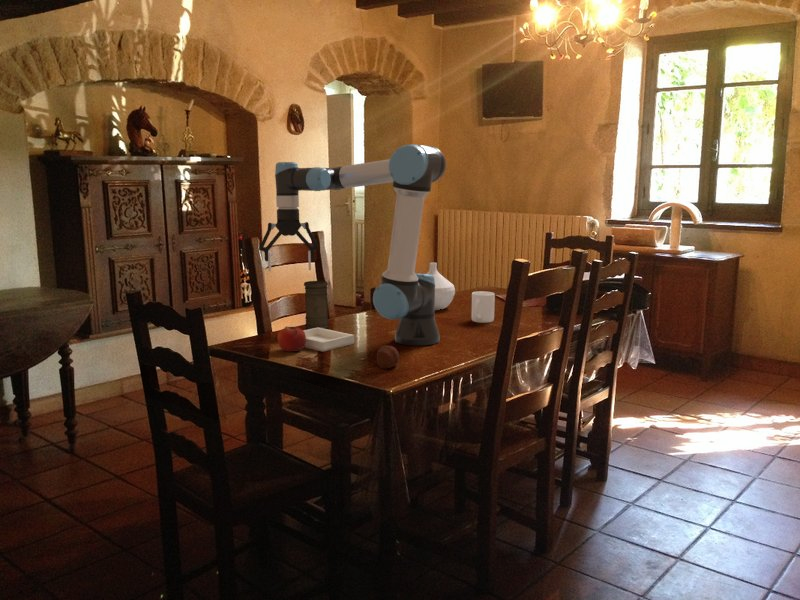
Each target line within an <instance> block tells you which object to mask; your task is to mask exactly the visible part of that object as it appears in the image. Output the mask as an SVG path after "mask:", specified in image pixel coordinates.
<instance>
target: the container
mask: <svg viewBox="0 0 800 600" xmlns="http://www.w3.org/2000/svg"><path fill="white" fill-rule="evenodd" d="M328 285H329V283H328V281H325V280H324V281H323V280H310V281H305V282H304V283H303V286H304V290H305V293H304V297H305V298H304V299H305V318H304V319H305V324H304V327H305V328H304V330H308V329H313V328H317V327H319V328H323V329H328V330H331V328H329V326H330V324H329V316H328V292H327V291H328V287H327V286H328Z"/></svg>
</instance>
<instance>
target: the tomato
mask: <svg viewBox="0 0 800 600" xmlns="http://www.w3.org/2000/svg"><path fill="white" fill-rule="evenodd" d="M277 341H278V345H279V347H280V349H281V350H282V351H285V352H286V351H287V352H298V351H300V350H302V349H303V348H305V347H304V346H305V343H306V335H305V332H304V330H303V329H301V328H300V327H299V326H298V327H297V326H284V328H282V329H280V330H279V331H278V333H277Z"/></svg>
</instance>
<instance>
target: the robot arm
mask: <svg viewBox="0 0 800 600" xmlns="http://www.w3.org/2000/svg"><path fill="white" fill-rule="evenodd" d="M298 164H299V163H297V162H296V161H278V162H277V163H275V171H274V172H275V174H274V178H275V189H276V191H275V192H276V194H275V195H276V196H275V199H276V208H277V210H276V223H274V222H273V223H272V222H268V223H267V229H266V232H265V234H264V236H263V237H262V241H261V243H260V245H259V247H258V249H259V250H258V251H262V252H264V261H265V262H268V264H267V265H268V266H267V267H268V272H271V271H272V258H271V256H272V253H271V251H270V249H271V248H272V246H274V245H275V243H276V242H277V241H278V239H279V238H280V237H281V236H284V237H287V236H293V237H294V236H295V235H296V236H297V237H298V238H299V240H300V241H302V243H303V244H304V245H305V246H306V247H307V248H308V249H309V250H308V251H307V255H308V256H307V260H308V271H311V270H312V261H314V260H315V251H316V250H318V249H319V248H320V246H319V244H318V242H317V240H316V239H315V237H314V235H313V233H312V231H311V229H310V225H309V222H308V221H305V222H302V223H301V221H300V209H299V206H300V203H299V201H300V196H299V193H300V191H302V192H303V191H307V192H312V191H314V192H321V191H340V190H344V189H350V188H357V187H364V186H366V187H367V186H371V185H372V186H374V185H379V184H380V185H381V184H387V183H392V189H393V190H394V192H395V193H396V199H395V208H394V214H393V223H392V231H391V238H390V247H389V255H388V263H387V269H386V270H385V271H383V272H382V273H381V279H380V280H381V281H380V284H379V285H378V286H377V287H376V288H375V289H374V291H373V294H372V295H373V296H372V303H373V305H374V308H375V310H376V311H377V312H378V314H379V315H380V316H381V317H383V318H384V319H387V320H399V321H398V324H397V327H396V331H395V333H394V341H395V343H397V344H401V345H404V346H412V347H413V346H414V347H415V346H418V347H420V346H430V345H435V344H437V343H440V341H441V339H440V337H441V336H440V332H439V329H438V326H437V321H436V319H435V312H436V310H435V279H434V276H433V275H430V274H427V273H419V272H418V273H416V272H415V271H416V264H417V257H418V250H419V249H418V248H419V242H420V233H421V227H422V220H423V212H424V205H425V198H426V196H428V195H429V194H430V193H431V191H432V190H431V189H432V184H433V183H435V182H437V181H439V180H440V179H441V178H442V177H443V176H444V174H445V172H446V168H447V160H446V156H445V154H444V153H443V152H442V150H440V149H439V148H438V147H436V146H432V145H424V144H416V143H414V144H413V143H410V144H405V145H404V144H403V145H402V146H400V147H398V148H396V150H394V151H393V153H392V154H391V156H390V158H389V159H382V160H375V161H369V162H363V163H356V164H355V163H354V164H349V165H343V166H336V167H319V166H317V167H315V166H314V167H299V165H298ZM301 227H302V228H303V229H304V230H305V231H306V233H307V234H308V236H309V238H310V240H311V242H312V244H313V245H311V243H310V242H309V241H308V240H307V239H306V237H304V236H303V235H302V233H301V231H299V230H300V229H301ZM274 228H275V229H277V230H278V232H277V233H276V234H275V236H273V238H272V239H271V241H270V242H269V243H268V244H267V245H266V243H267V241H268V238H269V236H270V233H271V231H272V230H274ZM265 245H266V246H265Z"/></svg>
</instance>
